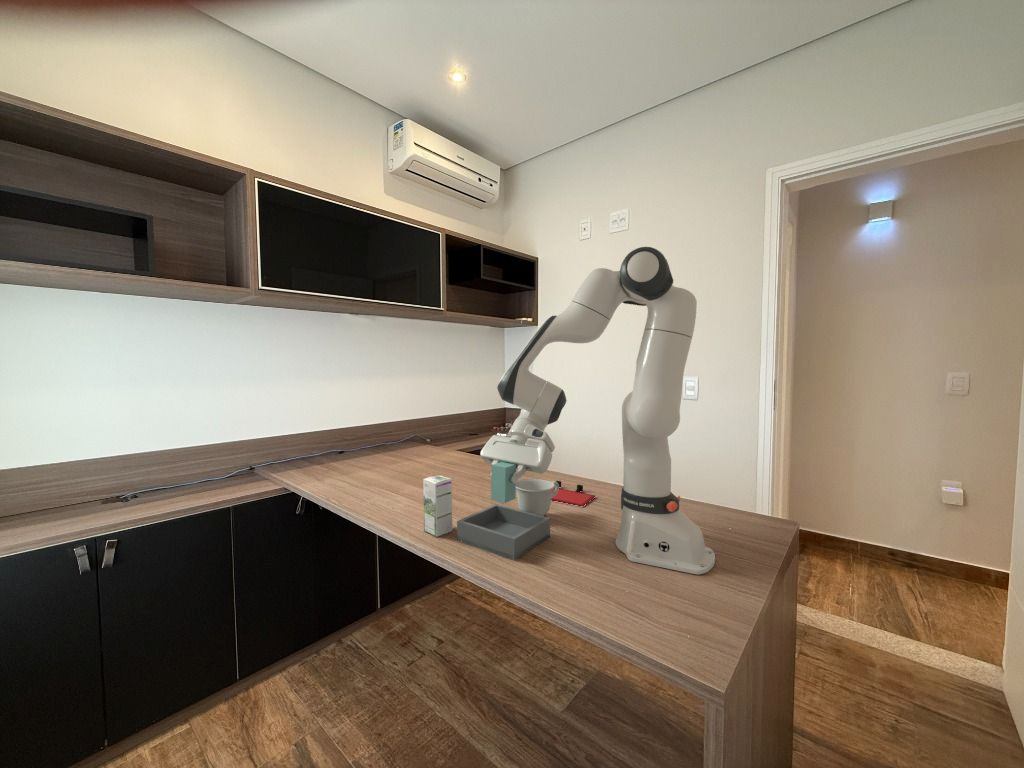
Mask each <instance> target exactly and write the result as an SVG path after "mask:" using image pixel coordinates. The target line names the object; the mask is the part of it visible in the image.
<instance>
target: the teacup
mask: <svg viewBox="0 0 1024 768" xmlns="http://www.w3.org/2000/svg"><path fill="white" fill-rule="evenodd" d="M556 481H557V480H553V481H549V480H546V479H542V478H541V479H539V478H527V479H526V478H525V479H520V480H517V482H516V497H517V498H516V499H517V505H518V510H521V511H525V512H529V513H532V514H536V515H540V516H544V517H545V515H547V513H548V512H549V511H550V508H551V504H552V501H551V499H552V498H553V497H554V496H556V495H557V493H558V491H559V484H558V483H557V482H556ZM554 487H555V490H554V492H553V493H552V490H553V488H554Z"/></svg>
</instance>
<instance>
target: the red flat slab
mask: <svg viewBox="0 0 1024 768" xmlns="http://www.w3.org/2000/svg"><path fill="white" fill-rule="evenodd" d="M555 481H556V482H557V483H558V484H559V487H561V488H559V491H558V493H557V495H556V496H554V497H553V498H552V499H551V500H552V501H551V502H553V501H558V502H563V503H568V504H573V505H578V506H584V505H585V504H587V503H588V502H589V501H590V500H592V499H593V498H594V497H595V496H596V495H595V494H590V493H584V489H583V488H584V485H582V484H577V485H576V489H575V490H570V489H569V490H568V489H563V488H562V481H561V480H555ZM554 490H555V487H554V488H553V490H552V493H553V492H554ZM580 491H583V492H580ZM596 497H597V496H596ZM593 500H594V499H593ZM593 500H592V501H593ZM558 502H557V503H558ZM563 503H562V504H563ZM568 504H567V505H568ZM588 504H589V503H588ZM588 504H587V505H588ZM573 505H572V506H573ZM578 506H577V507H578Z"/></svg>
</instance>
